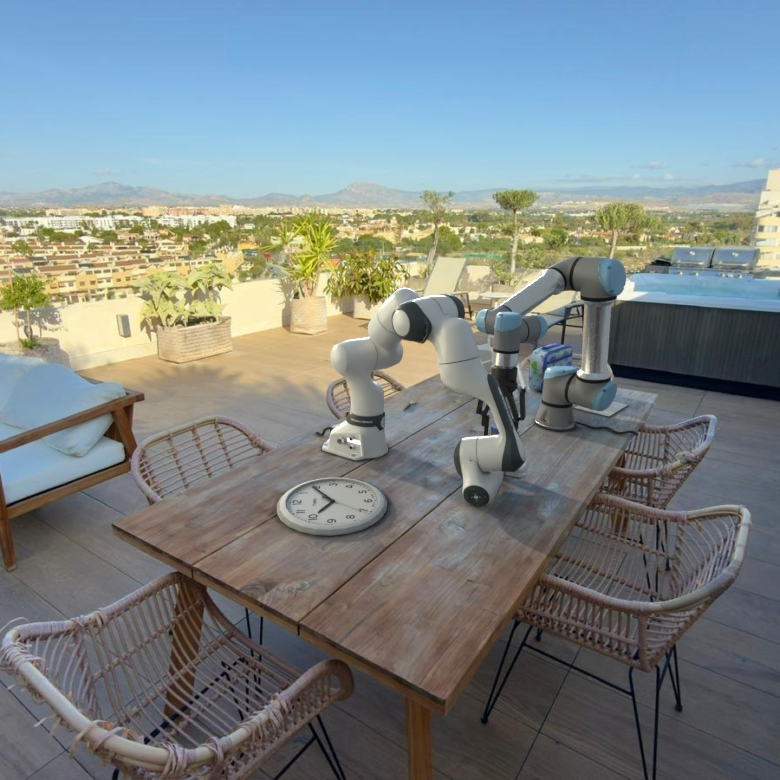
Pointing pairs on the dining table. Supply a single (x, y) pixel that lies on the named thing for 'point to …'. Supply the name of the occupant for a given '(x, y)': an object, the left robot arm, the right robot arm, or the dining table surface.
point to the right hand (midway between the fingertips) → (498, 438)
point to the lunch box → (547, 362)
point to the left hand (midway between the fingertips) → (497, 453)
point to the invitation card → (609, 411)
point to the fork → (411, 403)
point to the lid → (494, 428)
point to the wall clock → (331, 506)
